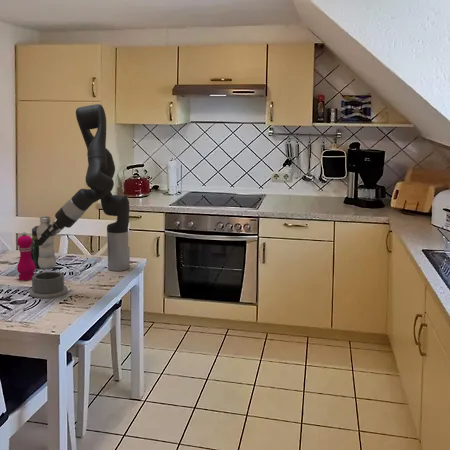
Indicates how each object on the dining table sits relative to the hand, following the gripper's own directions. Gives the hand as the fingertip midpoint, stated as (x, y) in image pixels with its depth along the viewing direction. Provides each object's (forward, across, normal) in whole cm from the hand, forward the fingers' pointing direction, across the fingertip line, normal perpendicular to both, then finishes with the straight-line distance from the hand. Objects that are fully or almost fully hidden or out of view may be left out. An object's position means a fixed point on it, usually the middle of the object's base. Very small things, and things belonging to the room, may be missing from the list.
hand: (42, 242), depth 209 cm
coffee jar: (+25, -35, +3) cm, 43 cm away
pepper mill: (+25, -17, +4) cm, 30 cm away
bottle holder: (+13, 0, +15) cm, 20 cm away
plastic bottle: (+6, 0, +9) cm, 11 cm away
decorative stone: (+32, -47, -4) cm, 57 cm away
